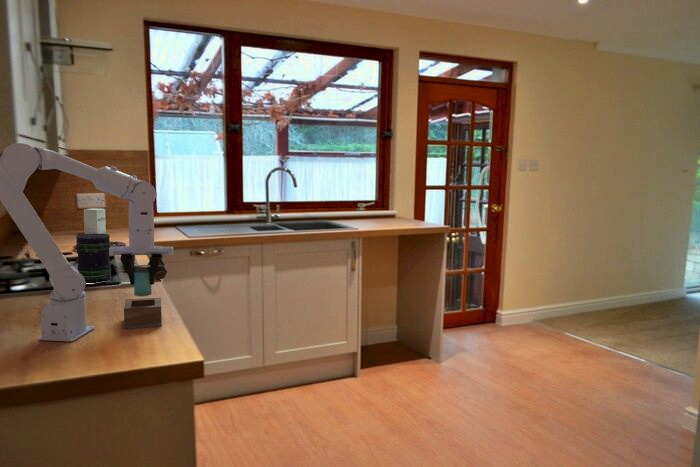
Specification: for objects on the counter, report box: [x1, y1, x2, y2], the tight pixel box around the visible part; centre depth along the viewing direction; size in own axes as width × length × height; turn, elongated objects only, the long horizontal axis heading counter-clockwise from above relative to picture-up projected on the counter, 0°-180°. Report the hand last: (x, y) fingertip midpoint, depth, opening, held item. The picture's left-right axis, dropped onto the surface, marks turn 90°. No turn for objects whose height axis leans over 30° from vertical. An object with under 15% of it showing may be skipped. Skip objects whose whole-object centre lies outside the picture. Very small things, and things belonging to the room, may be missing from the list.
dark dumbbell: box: [147, 259, 168, 280], centre depth 176 cm, size 6×5×15 cm
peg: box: [133, 264, 153, 297], centre depth 126 cm, size 4×4×7 cm
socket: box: [123, 297, 163, 330], centre depth 127 cm, size 8×8×5 cm
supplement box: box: [83, 207, 107, 234], centre depth 260 cm, size 7×7×13 cm
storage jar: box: [75, 233, 112, 283], centre depth 165 cm, size 10×10×15 cm
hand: (142, 283), depth 126 cm, fingers closed on peg, 4 cm apart
